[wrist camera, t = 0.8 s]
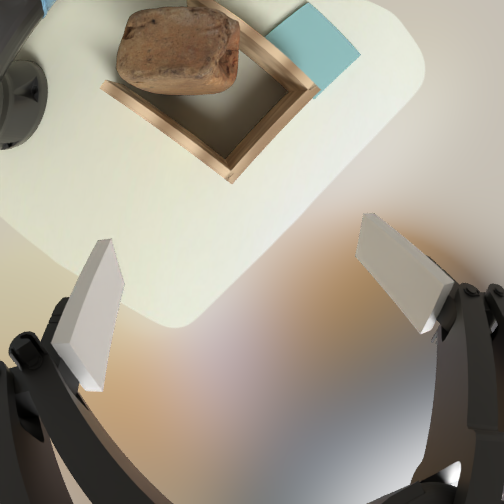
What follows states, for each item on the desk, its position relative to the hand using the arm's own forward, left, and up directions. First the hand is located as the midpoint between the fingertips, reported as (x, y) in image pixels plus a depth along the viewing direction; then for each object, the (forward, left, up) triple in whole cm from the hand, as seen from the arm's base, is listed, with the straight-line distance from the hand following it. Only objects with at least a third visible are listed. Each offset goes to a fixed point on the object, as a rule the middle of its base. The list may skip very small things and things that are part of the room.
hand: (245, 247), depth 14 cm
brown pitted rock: (-11, +7, -29) cm, 32 cm away
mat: (-1, +22, -29) cm, 36 cm away
